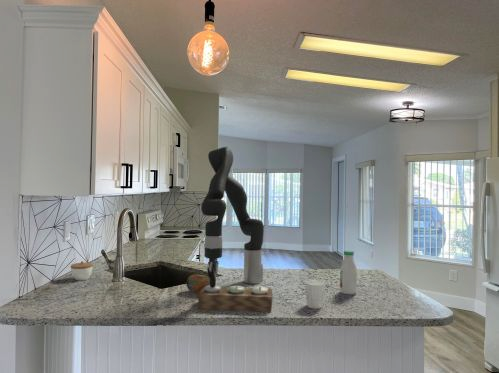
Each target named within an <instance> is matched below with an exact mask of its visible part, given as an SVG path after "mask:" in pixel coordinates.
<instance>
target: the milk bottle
mask: <svg viewBox="0 0 499 373" xmlns="http://www.w3.org/2000/svg"><path fill="white" fill-rule="evenodd" d="M354 254H355V253H354V251H353V250H349V249H348V250H343V260H342V262H341V264H340V270H339V271H340V272H339V292H340V293H341V294H344V295H350V296H351V295H352V296H353V295H356V294H357V289H358V286H357V285H358V284H357V283H358V282H357V281H358V279H357V277H358V275H357V274H358V272H357V270H358V268H357V265H356V263H355V260H354Z"/></svg>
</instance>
